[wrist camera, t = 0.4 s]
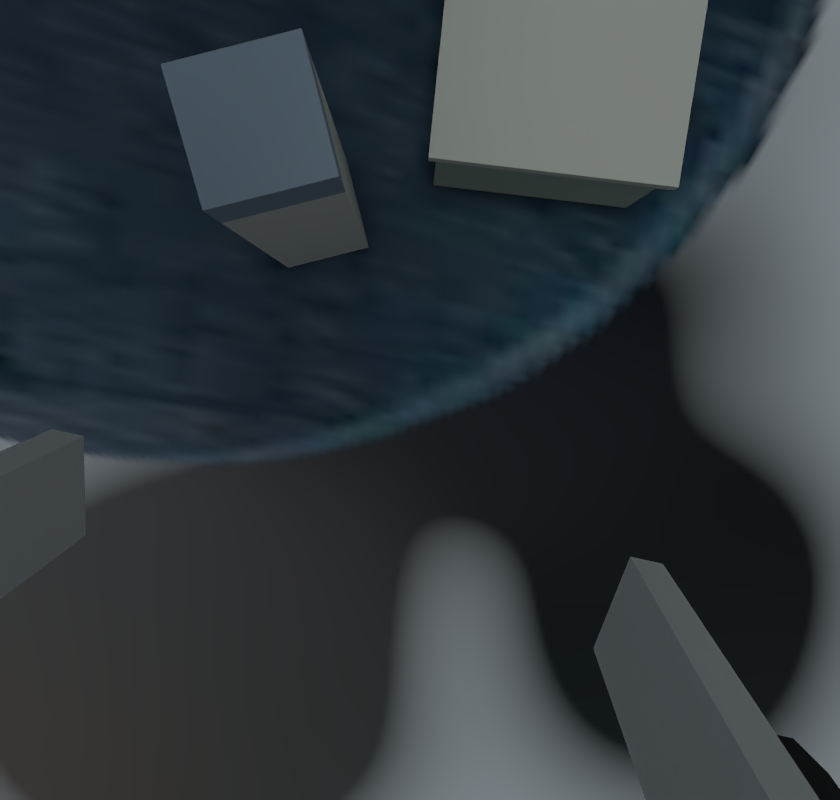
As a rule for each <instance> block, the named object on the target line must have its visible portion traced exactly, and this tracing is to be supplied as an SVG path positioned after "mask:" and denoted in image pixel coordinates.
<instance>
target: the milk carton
mask: <svg viewBox="0 0 840 800" xmlns="http://www.w3.org/2000/svg"><path fill="white" fill-rule="evenodd" d="M161 67H162V71H163V74H164V78H165V81H166V85H167V88H168V92H169V95H170V99H171V102H172V106H173V109H174V113H175V116H176V119H177V123H178V126H179V130H180V133H181V137H182V140H183V144H184V147H185V151H186V154H187V158H188V161H189V165H190V168H191V172H192V175H193V179H194V182H195V186H196V189H197V192H198V196H199V199H200V203H201V206H202V210H203V211H204V212H205V213H207V214H208V215H210V216H211V217H213V218H214V219H216V220H217V221H219V222H220V223H222V224H223V225H225V226H226V227H228V228H229V229H231V230H232V231H234V232H235V233H237V234H238V235H240V236H241V237H243V238H244V239H246V240H247V241H249V242H250V243H252V244H253V245H255V246H256V247H258V248H259V249H261V250H262V251H264V252H265V253H267V254H268V255H270V256H271V257H273V258H274V259H276V260H277V261H279V262H280V263H282V264H283V265H285V266H286V267H288V268H289V267H293V266H297V265H301V264H305V263H309V262H313V261H317V260H321V259H325V258H329V257H333V256H337V255H341V254H345V253H349V252H353V251H357V250H361V249H365V248H369V247H368V243H367V239H366V235H365V231H364V227H363V223H362V219H361V215H360V211H359V207H358V203H357V199H356V195H355V191H354V187H353V183H352V179H351V175H350V171H349V167H348V163H347V160H346V157H345V154H344V151H343V148H342V146H341V143H340V140H339V137H338V134H337V131H336V128H335V125H334V122H333V119H332V116H331V113H330V110H329V108H328V105H327V102H326V99H325V96H324V93H323V90H322V87H321V84H320V81H319V78H318V75H317V72H316V70H315V67H314V64H313V61H312V58H311V55H310V52H309V49H308V46H307V43H306V40H305V37H304V34H303V32H302V29H301V28H300V29H296V30H292V31H288V32H284V33H281V34H277V35H273V36H269V37H265V38H261V39H257V40H253V41H249V42H245V43H241V44H237V45H234V46H230V47H226V48H222V49H218V50H214V51H210V52H206V53H202V54H198V55H194V56H190V57H186V58H183V59H179V60H175V61H171V62H167V63H163V64H161Z"/></svg>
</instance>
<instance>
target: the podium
mask: <svg viewBox="0 0 840 800" xmlns="http://www.w3.org/2000/svg"><path fill="white" fill-rule="evenodd" d="M707 4H708V0H445V3H444V12H443V22H442V32H441V41H440V51H439V60H438V70H437V80H436V89H435V99H434V109H433V118H432V128H431V138H430V147H429V157H428V161H433V162H436V163H435V173H434V182H433V185H436V186H444V187H453V188H461V189H470V190H478V191H487V192H495V193H503V194H512V195H520V196H529V197H537V198H546V199H554V200H563V201H571V202H580V203H588V204H597V205H605V206H614V207H622V208H626V207H628V206H630V205H631V204H633V203H634V202H636V201H637V200H639V199H640V198H642V197H643V196H645V195H646V194H648V193H649V192H651V191H652V190H654V189H655V188H660V189H668V190H675V189H677V188H678V187H679V181H680V175H681V168H682V162H683V156H684V149H685V143H686V137H687V130H688V124H689V118H690V111H691V105H692V99H693V92H694V86H695V80H696V73H697V67H698V61H699V54H700V48H701V42H702V35H703V29H704V23H705V16H706V10H707Z"/></svg>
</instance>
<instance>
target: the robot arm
mask: <svg viewBox="0 0 840 800" xmlns="http://www.w3.org/2000/svg"><path fill="white" fill-rule="evenodd" d="M83 536H85V486H84V436H81V435H76V434H71V433H67V432H62V431H58V430H53V429H51V430H49V431H47V432H44V433H42V434H40V435H37V436H35V437H33V438H30V439H28V440H26V441H23V442H21V443H19V444H16V445H14V446H12V447H10V448H7V449H5V450H3V451H0V599H1V598H2V597H4V596H5V595H6V594H8V593H9V592H10V591H11V590H13V589H14V588H16V587H17V586H18V585H20V584H21V583H22V582H24V581H25V580H26V579H28V578H29V577H30V576H31V575H32V574H34V573H36V572H37V571H38V570H40V569H41V568H42V567H43V566H45V565H46V564H47V563H49V562H50V561H51V560H53V559H54V558H55V557H57V556H58V555H59V554H61V553H62V552H63V551H65V550H66V549H67V548H69V547H70V546H71V545H73V544H74V543H75V542H77V541H78V540H79V539H81V538H82V537H83ZM594 651H595V654H596V657H597V660H598V663H599V666H600V669H601V672H602V674H603V677H604V680H605V683H606V686H607V689H608V692H609V694H610V697H611V700H612V703H613V706H614V709H615V712H616V715H617V718H618V721H619V724H620V726H621V729H622V732H623V735H624V738H625V741H626V744H627V747H628V749H629V752H630V755H631V758H632V761H633V764H634V767H635V770H636V772H637V775H638V778H639V781H640V784H641V787H642V790H643V793H644V796H645V799H646V800H840V789H839V788H838V786H837V785H836V783H835V782H834V781H833V779H832V778H831V776H830V775H829V774H828V773H827V772H826V771H825V770H824V769H823V768H822V767H821V766H820V765H819V764H818V763H817V762H816V761H815V760H814V759H813V758H812V757H811V756H810V755H809V754H808V753H807V752H806V751H805V750H804V749H803V748H802V747H801V746H800V745H799V744H798V743H797V742H796V741H795V740H794V739H793V738H788V737H783V736H780V735H776V733H775V732H774V730H773V729H772V728H771V726H770V724H769V723H768V721H767V720H766V718H765V717H764V715H763V714H762V712H761V711H760V710H759V708H758V706H757V705H756V703H755V702H754V700H753V699H752V697H751V696H750V694H749V693H748V691H747V690H746V688H745V687H744V685H743V684H742V682H741V681H740V679H739V678H738V676H737V675H736V673H735V672H734V670H733V669H732V667H731V666H730V664H729V663H728V661H727V660H726V658H725V657H724V655H723V654H722V652H721V651H720V649H719V648H718V646H717V645H716V643H715V642H714V640H713V639H712V637H711V636H710V634H709V633H708V631H707V630H706V628H705V627H704V625H703V624H702V622H701V621H700V619H699V618H698V616H697V615H696V613H695V612H694V610H693V609H692V607H691V606H690V604H689V603H688V601H687V600H686V598H685V597H684V595H683V594H682V592H681V591H680V589H679V588H678V587H677V585H676V583H675V582H674V580H673V579H672V577H671V576H670V574H669V573H668V571H667V570H666V568H665V567H664V565H663V564H660V563H656V562H651V561H647V560H642V559H638V558H633V557H630V559H629V561H628V564H627V566H626V569H625V572H624V574H623V576H622V579H621V581H620V584H619V586H618V589H617V591H616V594H615V596H614V599H613V601H612V604H611V606H610V609H609V611H608V614H607V616H606V619H605V621H604V623H603V626H602V628H601V631H600V633H599V636H598V639H597V641H596V643H595V646H594Z"/></svg>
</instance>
